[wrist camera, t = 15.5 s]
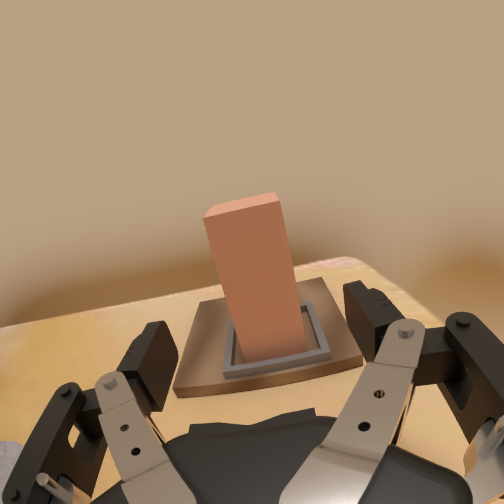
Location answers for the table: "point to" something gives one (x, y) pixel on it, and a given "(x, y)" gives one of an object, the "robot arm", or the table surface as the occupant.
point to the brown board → (213, 350)
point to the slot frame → (277, 363)
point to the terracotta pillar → (257, 276)
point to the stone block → (8, 461)
